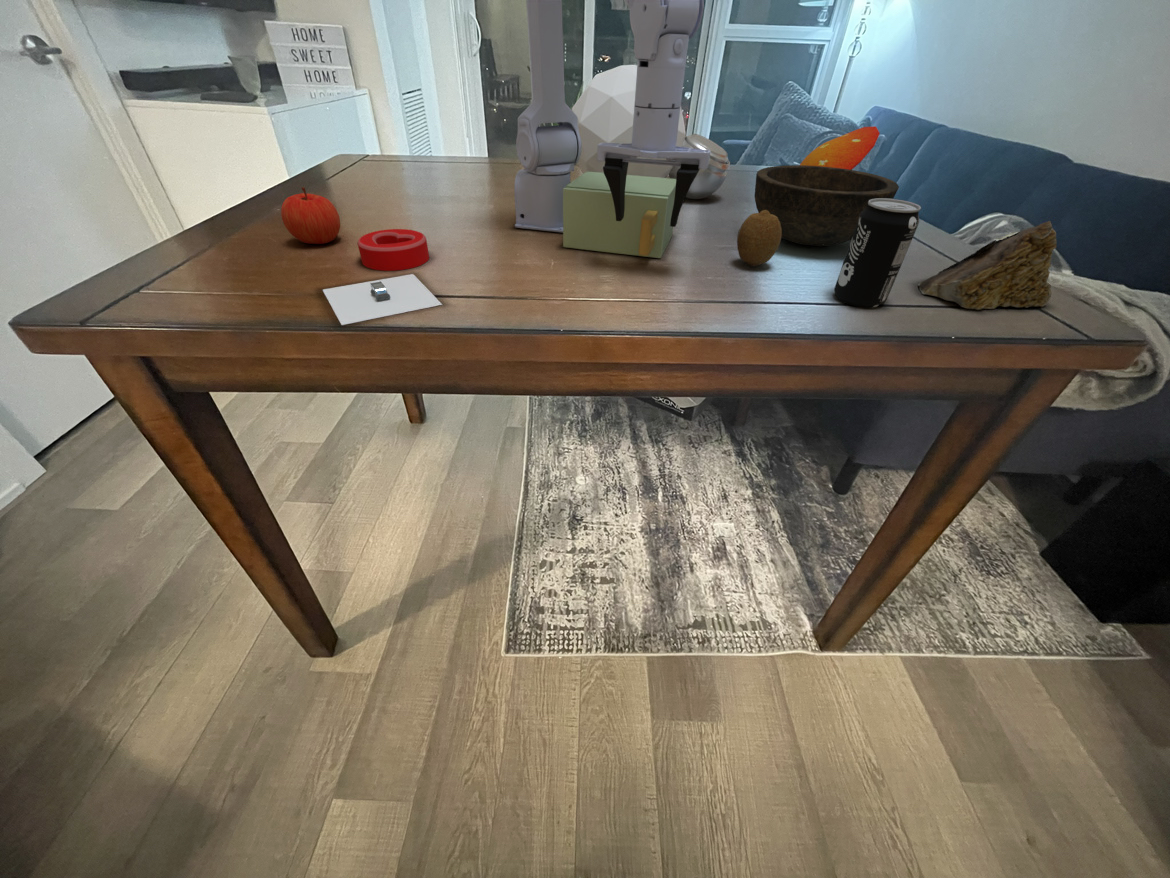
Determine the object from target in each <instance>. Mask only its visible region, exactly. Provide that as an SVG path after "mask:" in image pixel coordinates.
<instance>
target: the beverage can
mask: <svg viewBox="0 0 1170 878" xmlns="http://www.w3.org/2000/svg"><path fill="white" fill-rule="evenodd" d="M921 209H922V207H921V205H919V204H917V203H915V202H911V201H908V200H902V199H895V198H893V199H887V198H876V199H871V200H869V201H868V206H867V207H866V208H865V209H864V210H863V211H862V212H861V213H860V216H859V219H858V222H857V225H856V228H855V230H854V233H853V236H852V239H851V240H850V241H849V245H848V247H847V251H846V254H845V256H844V259H843V262H842V265H841V267H840V271H839V274H838V277H837V280H836V282H835V285H834V290H833V291H834V293H835V295H836V298H837V299H838V300H839V301H841V302H843V303H844V304H846V305H850V306H853V307H857V308H866V309H867V308H869V309H870V308H876V307H879V306H880V305H882V304H883V303H885V302H886V301H887V300H888V298H889V296H890V293H891V291H892V289H893V286H894V284H895V281H896V279H897V277H898V274H899V272H900V269H901V267H902V265H903V262H904V260H905V258H906V255H907V252H908V250H909V248H910V245H911V243H912V242H913V239H914V236H915V234H916V231H917V229H918V227H919V224H920V216H919V214H920V213H919V212H920V211H921Z"/></svg>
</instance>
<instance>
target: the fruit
mask: <svg viewBox="0 0 1170 878" xmlns="http://www.w3.org/2000/svg"><path fill="white" fill-rule="evenodd" d="M781 236H782V229H781V224H780V222H779V219H778V217H776V216H775V215H772V214H770V212H769V211H767V210H763V211H761V212H760V213H759V212H753V213H751V214H750V215H749V216H747V217H746V219H744V221H743V222H742V224H741V226H740V228H739V231H738V234H737V239H736V242H737V243H736V245H737V247H736V248H737V253H738V256H739V258H740V260H742V261H743V262H744V263H746V264H747V265H748V266H750V267H758V266H761V265H763V264H765V263H767V262H769V261H770V260H771V259H772V258H773V256H775V254H776V252H777V251H778V249H779V248H780V244H781V240H782V238H781Z"/></svg>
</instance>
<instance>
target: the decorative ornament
mask: <svg viewBox="0 0 1170 878" xmlns="http://www.w3.org/2000/svg"><path fill="white" fill-rule="evenodd" d="M357 246H358V251H359V255H360V260H361V263H362V265H363V266H364V267H366V268H368V269H371V270H374V271H383V272H386V271H387V272H389V271H390V272H391V271H393V272H394V271H404V270H409V269H413V268H417V267H421V266H422V265H424V264H426V263H427V262H428V261H429V260H430V252H429V246H428V241H427V237H426V235H425V234H424V233H422V232H420V231H417V230H413V229H407V228H406V229H405V228H391V229H381V230H376V231H371V232H368V233H365V234H363V235H362V236H361V237H359V239H358V240H357Z"/></svg>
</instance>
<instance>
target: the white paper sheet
mask: <svg viewBox="0 0 1170 878" xmlns="http://www.w3.org/2000/svg"><path fill="white" fill-rule="evenodd" d="M322 292H323V294H324V296H325V298H326V299H327V301H328V303H329V305H330V306H331V308H332V310H333V312H334V314H335V316H336V318H337V319H338V321H339V323H340V325H341V326H345V325H349V324H355V323H360V322H365V321H369V320H374V319H379V318H383V317H388V316H394V315H398V314H403V313H408V312H413V311H418V310H422V309H428V308H432V307H437V306H443V303H442V302H440V301H439V299H438V298H437V297H436V296H435V295H434V294H433V293H432V292H431V291H430V290H429V289H428V288H427V287H426V285H424V284H423V282H422V281H420V279H419V278H418V277H417V276H416V275H415V274H414V273H410V274H405V275H399V276H393V277H387V278H382V279H375V280H371V281H365V282H359V283H353V284H347V285H341V286H336V287H330V288H324V289H322Z"/></svg>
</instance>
